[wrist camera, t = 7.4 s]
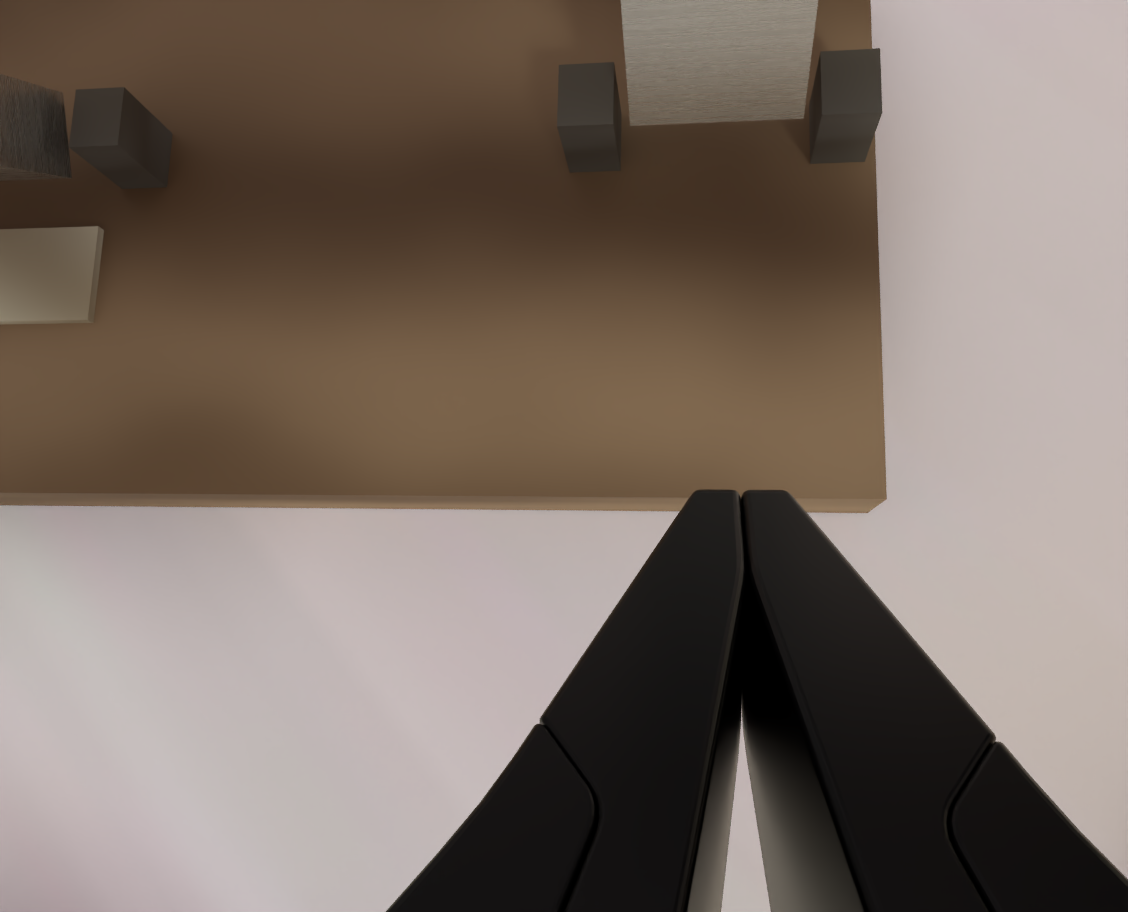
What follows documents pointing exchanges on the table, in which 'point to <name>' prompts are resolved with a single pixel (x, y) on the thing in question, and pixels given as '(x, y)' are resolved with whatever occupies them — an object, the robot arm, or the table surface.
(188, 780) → the table surface
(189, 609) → the table surface
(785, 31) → the lever
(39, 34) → the switch box
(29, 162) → the lever
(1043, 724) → the table surface
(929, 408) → the table surface
